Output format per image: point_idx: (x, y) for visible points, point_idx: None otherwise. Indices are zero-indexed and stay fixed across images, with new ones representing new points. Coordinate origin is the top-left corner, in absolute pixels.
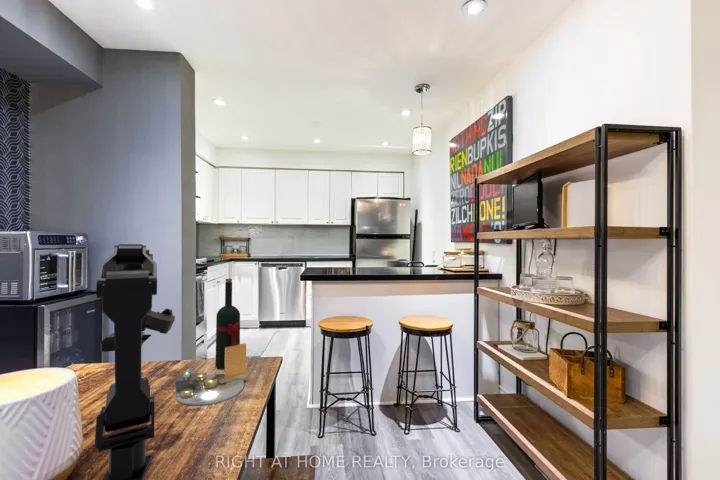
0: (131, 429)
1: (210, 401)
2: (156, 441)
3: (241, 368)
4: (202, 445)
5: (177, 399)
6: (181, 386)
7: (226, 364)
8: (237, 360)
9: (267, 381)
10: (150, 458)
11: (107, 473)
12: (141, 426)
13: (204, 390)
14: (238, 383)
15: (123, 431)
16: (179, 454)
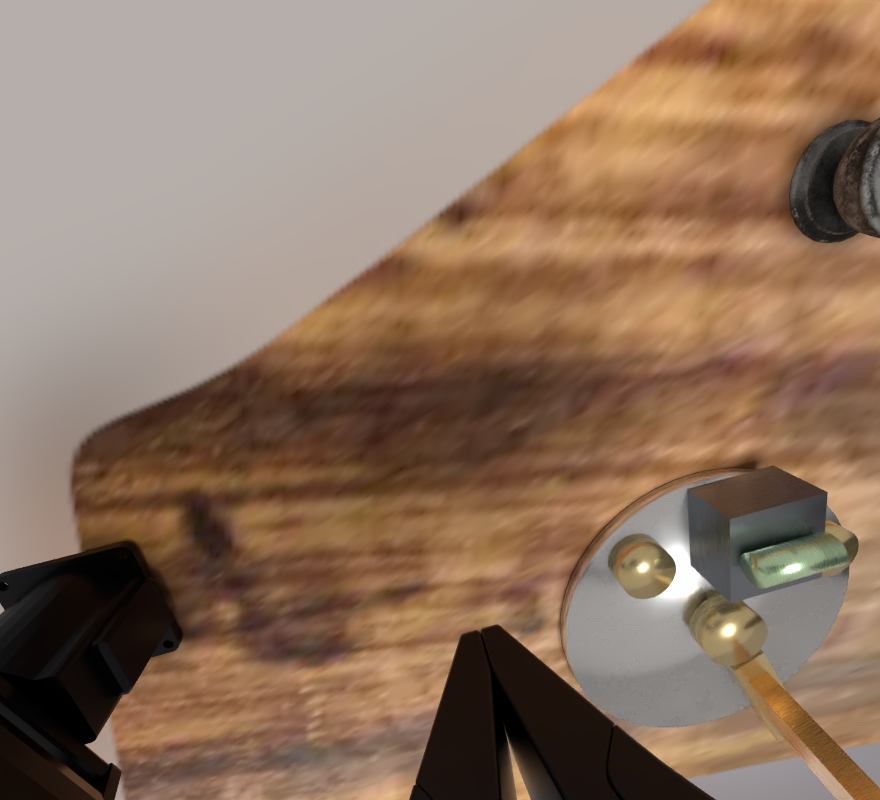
0: (30, 736)
1: (569, 663)
2: (291, 597)
3: (799, 753)
4: (271, 745)
5: (622, 518)
6: (707, 526)
7: (812, 754)
8: (840, 795)
9: (727, 766)
10: (157, 655)
11: (51, 568)
12: (66, 761)
13: (675, 605)
14: (714, 703)
15: (2, 714)
16: (215, 706)
